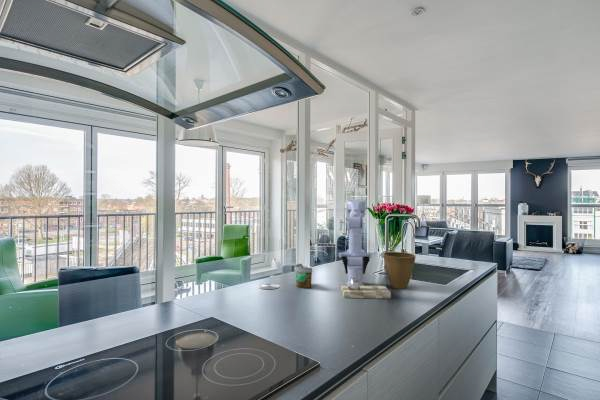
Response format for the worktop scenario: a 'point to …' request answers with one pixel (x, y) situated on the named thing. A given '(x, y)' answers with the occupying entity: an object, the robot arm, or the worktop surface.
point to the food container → (303, 276)
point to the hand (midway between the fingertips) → (355, 273)
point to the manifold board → (366, 292)
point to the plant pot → (399, 268)
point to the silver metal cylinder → (354, 283)
